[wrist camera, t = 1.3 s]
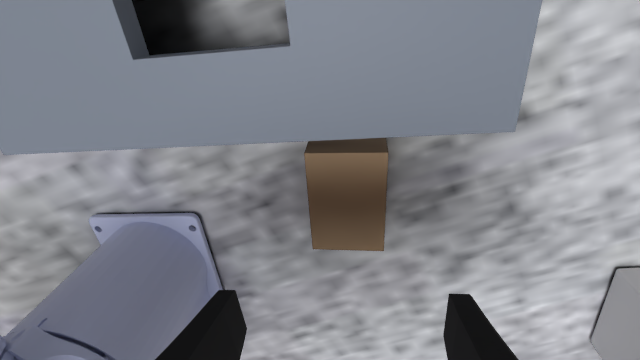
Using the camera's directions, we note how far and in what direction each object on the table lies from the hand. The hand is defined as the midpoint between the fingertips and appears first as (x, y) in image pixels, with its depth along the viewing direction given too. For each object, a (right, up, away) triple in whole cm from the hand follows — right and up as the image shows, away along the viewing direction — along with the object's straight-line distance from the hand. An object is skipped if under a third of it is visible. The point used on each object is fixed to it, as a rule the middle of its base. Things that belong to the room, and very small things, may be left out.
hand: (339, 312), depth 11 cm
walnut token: (+1, +5, +8) cm, 10 cm away
